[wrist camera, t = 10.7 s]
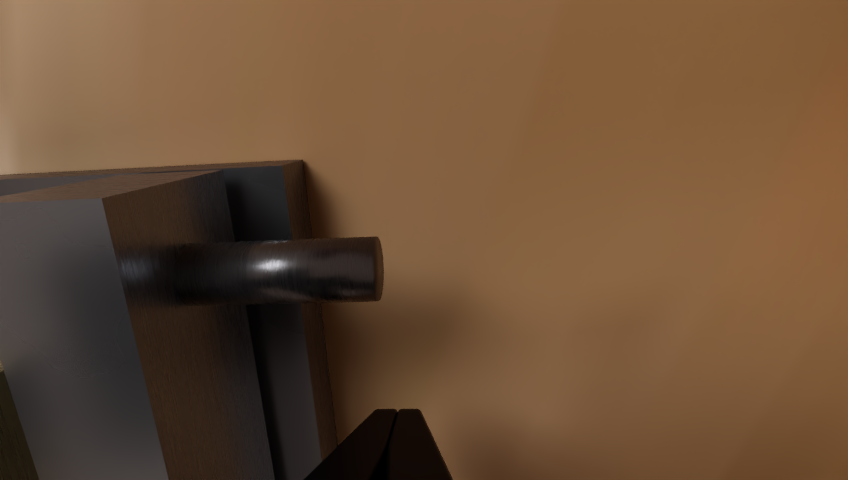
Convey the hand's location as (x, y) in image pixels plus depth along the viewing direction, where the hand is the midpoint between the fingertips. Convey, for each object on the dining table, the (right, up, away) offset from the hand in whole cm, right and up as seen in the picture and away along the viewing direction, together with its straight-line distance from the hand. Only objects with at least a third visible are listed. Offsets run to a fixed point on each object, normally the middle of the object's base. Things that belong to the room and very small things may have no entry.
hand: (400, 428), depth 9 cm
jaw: (-2, 0, +1) cm, 3 cm away
